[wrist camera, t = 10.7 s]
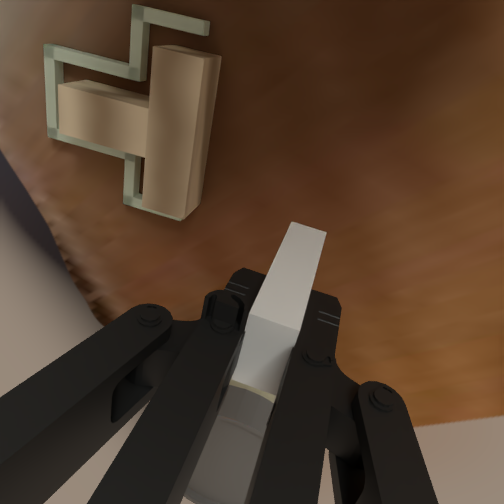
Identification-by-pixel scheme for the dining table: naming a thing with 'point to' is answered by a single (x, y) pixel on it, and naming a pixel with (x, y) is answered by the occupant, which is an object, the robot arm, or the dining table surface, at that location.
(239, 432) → the reusable coffee cup
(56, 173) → the dining table surface
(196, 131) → the t block
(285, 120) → the dining table surface
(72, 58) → the t outline
